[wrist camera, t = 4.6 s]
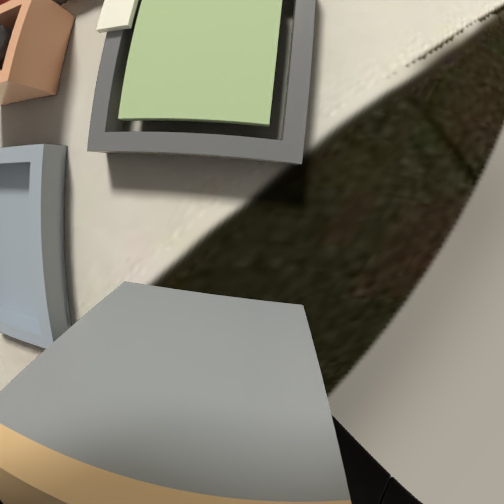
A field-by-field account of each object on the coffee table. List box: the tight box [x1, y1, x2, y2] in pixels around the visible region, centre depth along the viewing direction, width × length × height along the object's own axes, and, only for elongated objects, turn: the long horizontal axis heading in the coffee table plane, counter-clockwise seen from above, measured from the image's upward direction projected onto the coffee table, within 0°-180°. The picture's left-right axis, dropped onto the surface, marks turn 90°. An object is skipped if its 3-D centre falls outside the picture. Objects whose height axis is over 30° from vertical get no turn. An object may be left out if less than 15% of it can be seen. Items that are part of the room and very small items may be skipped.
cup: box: [0, 0, 75, 106], centre depth 13 cm, size 6×6×5 cm
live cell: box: [0, 281, 351, 504], centre depth 5 cm, size 4×4×6 cm
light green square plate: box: [118, 0, 282, 127], centre depth 13 cm, size 9×8×1 cm
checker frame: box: [87, 0, 316, 166], centre depth 14 cm, size 12×12×3 cm
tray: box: [0, 144, 71, 349], centre depth 17 cm, size 13×9×2 cm
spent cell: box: [0, 24, 13, 70], centre depth 12 cm, size 3×3×6 cm
